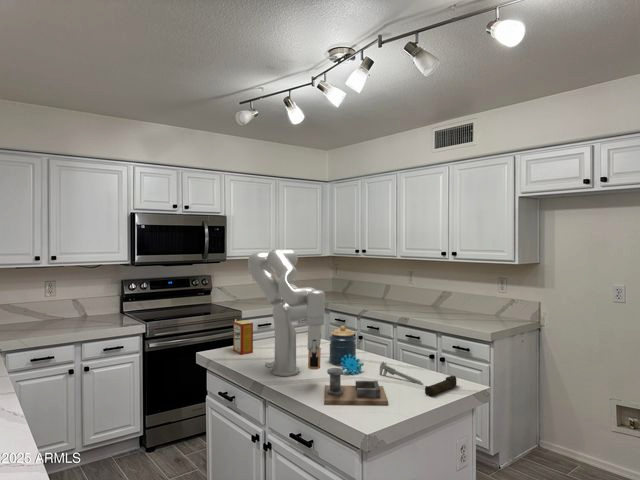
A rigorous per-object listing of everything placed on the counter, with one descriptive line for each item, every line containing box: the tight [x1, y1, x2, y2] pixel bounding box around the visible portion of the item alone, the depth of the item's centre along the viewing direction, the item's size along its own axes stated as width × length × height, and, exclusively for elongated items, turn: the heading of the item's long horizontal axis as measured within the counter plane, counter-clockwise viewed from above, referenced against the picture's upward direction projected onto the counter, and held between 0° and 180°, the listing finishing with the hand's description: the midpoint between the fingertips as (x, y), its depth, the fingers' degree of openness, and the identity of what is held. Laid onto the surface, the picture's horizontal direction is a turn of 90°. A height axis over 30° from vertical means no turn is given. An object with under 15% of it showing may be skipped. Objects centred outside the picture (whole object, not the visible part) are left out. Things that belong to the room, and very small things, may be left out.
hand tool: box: [424, 375, 458, 398], centre depth 174 cm, size 19×4×5 cm, turn 128°
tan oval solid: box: [307, 347, 322, 371], centre depth 181 cm, size 5×5×8 cm
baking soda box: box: [232, 319, 254, 356], centre depth 231 cm, size 10×6×16 cm
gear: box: [339, 354, 365, 376], centre depth 198 cm, size 11×6×10 cm
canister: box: [328, 325, 357, 366], centre depth 213 cm, size 13×13×18 cm
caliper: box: [379, 361, 424, 386], centre depth 187 cm, size 20×1×6 cm, turn 51°
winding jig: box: [323, 367, 389, 406], centre depth 167 cm, size 23×16×10 cm
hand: (314, 363), depth 181 cm, fingers closed on tan oval solid, 4 cm apart
